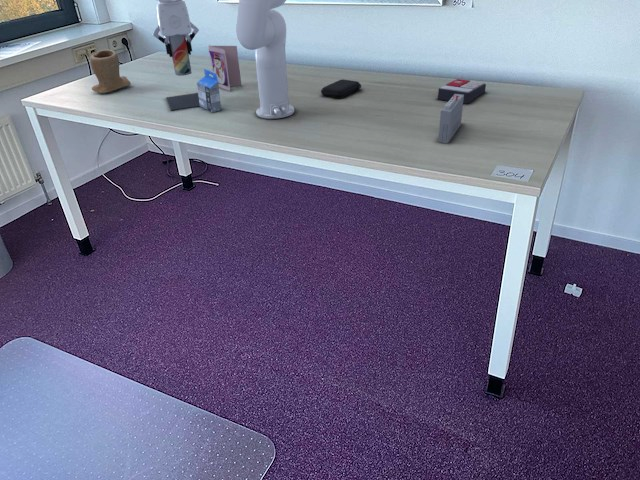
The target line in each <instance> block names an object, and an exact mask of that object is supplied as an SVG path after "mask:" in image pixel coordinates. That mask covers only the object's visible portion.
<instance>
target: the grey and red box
mask: <svg viewBox="0 0 640 480" xmlns="http://www.w3.org/2000/svg"><path fill="white" fill-rule="evenodd" d="M486 87H487V83H485V82H483V81H476V80H469V79H461V78H456V79H454V80H452V81H450V82H448V83H446V84H445V85H443V86H440V87H439V88H438V90H437V91H438V92H437V100H441V101H446V102H448V101H449V100H450V99H451V98H452V97H453V95H454V94H461V95H464V100H463V104H465V105H466V104H467V105H468V104H471V103H472V102H473V101H474V100H475V99H476V98H478V97H480V96H482V95H483V94H485V93H486Z"/></svg>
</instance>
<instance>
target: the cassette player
mask: <svg viewBox="0 0 640 480" xmlns="http://www.w3.org/2000/svg"><path fill="white" fill-rule="evenodd" d="M463 100H464V95H461V94H454V95H453V97H452V98H451V99H450V100H449V101H447V102H446V103H445V105H444V106H443V107H442V109H441V110H440V116H439V130H438V138H437V139H438V143H444V144H449V143H450V141H451V139H452V138H453V137H454V135H455V134H456V132H457V131H458V130H459V128H460V126H461V125H462V120H463V119H462V117H463V110H464V109H463V108H464V103H463Z"/></svg>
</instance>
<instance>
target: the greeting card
mask: <svg viewBox="0 0 640 480" xmlns="http://www.w3.org/2000/svg"><path fill="white" fill-rule="evenodd" d="M207 47H208V54H209V60H210V67H211V72H213V73H215V74H216V75H217V79H218V85H219V89H222V90H223V89H224V90H226V91H229V92H231V87H242V86H243V85H242V78H241V69H240V62H239V61H240V60H239V55H238V53H239V52H238V46H237V45H207Z"/></svg>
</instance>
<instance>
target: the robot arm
mask: <svg viewBox="0 0 640 480" xmlns="http://www.w3.org/2000/svg"><path fill="white" fill-rule="evenodd" d="M156 1H157V3H156V14H157V23H158V24H157V26H156V27H155V29H154V31H153V32H152V36H153V37H154V38H156V39H157V40H159V41H160V42H161V43H162V44H164V45H165V51H166V55H169V58H172V53H171V47H170V44H169V36H174V35H177V34H178V35H185V37H186V43H187V48H188V54H189V56H191V55H192V52H193V48H192V47H193V46H192V41H193V39H194V38H195V36H196V35H197V34H198V33H199V31H200V29H199V28H198V27H197V26H196V25H195V24H194V23H192V21H191V20H190V15H189V11H188V7H187V4H186V1H184V0H156ZM286 1H287V0H238V7H237V9H238V10H237V16H236V24H235V25H236V26H235V34H236V38H237V40H238V42H239V44H240V45H241V46H242V47H243V48H244V49H245V50H249V51H255V69H256V70H255V71H256V78H257V88H258V96H259V97H258V98H259V105H260V106H259V107H258V108H257V109H256V111H255V112H256V116H257V117H258V118H260V119H261V118H262V119H265V120H266V119H268V120H276V119H283V118H287V117H290V116H292V115H293V114H294V113H295V107H294V106H293V105H292V104H290V97H289V84H288V83H289V82H288V71H287V57H286V55H287V54H286V43H287V42H286V41H287V23H286V20H285V18H284V16H283V14H281V13H280V12H279V11H277V10H276V9H277V8H279V7H281V6H283V5H284V4H285V3H286ZM159 33H160V34H159ZM161 35H162V36H161Z"/></svg>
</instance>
